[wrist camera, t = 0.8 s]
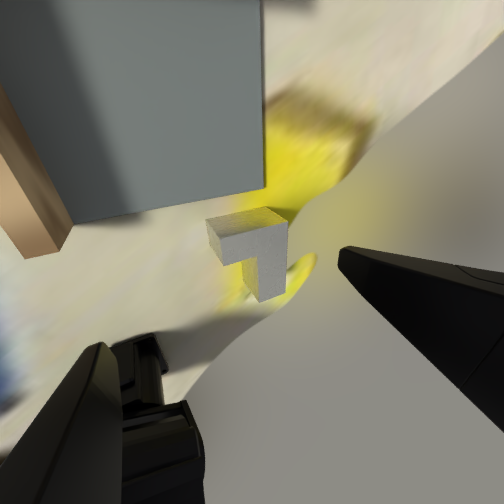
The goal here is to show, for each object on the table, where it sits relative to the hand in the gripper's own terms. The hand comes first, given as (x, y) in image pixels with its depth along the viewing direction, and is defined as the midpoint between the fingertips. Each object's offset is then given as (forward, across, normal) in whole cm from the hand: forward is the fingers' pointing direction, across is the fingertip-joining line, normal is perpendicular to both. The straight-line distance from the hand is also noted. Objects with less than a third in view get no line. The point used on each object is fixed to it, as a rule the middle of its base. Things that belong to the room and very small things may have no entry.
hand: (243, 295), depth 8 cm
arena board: (+13, 0, -7) cm, 14 cm away
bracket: (+13, -4, +6) cm, 15 cm away
